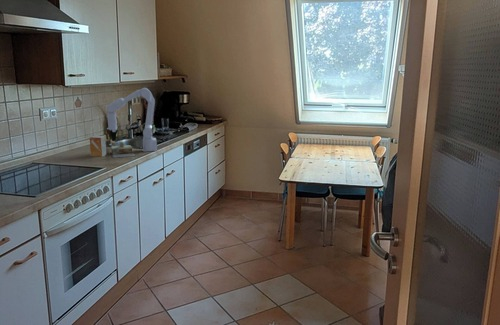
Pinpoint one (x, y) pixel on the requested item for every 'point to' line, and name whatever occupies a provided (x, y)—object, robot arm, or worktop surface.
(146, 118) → the robot arm
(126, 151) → the open brown box
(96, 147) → the small box
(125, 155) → the mat
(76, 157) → the worktop surface
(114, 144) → the beige rectangular bar
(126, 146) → the mint green slab
